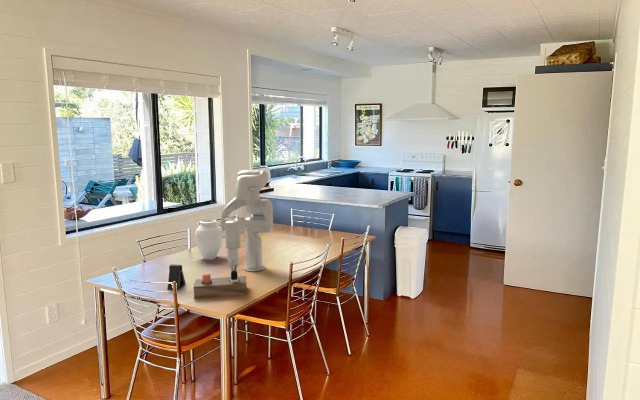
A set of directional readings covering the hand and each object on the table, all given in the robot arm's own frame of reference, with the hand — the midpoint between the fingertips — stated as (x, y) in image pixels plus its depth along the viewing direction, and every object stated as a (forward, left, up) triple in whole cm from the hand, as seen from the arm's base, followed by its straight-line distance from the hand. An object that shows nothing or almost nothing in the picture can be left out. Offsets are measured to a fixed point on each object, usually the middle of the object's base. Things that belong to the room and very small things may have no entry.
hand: (234, 279), depth 239 cm
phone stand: (-14, -31, -7) cm, 35 cm away
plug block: (0, -7, -7) cm, 10 cm away
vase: (-66, -17, -7) cm, 69 cm away
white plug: (0, 0, -5) cm, 6 cm away
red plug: (0, -14, -2) cm, 14 cm away
